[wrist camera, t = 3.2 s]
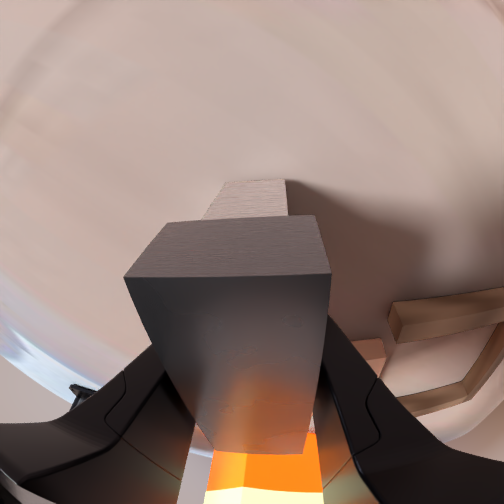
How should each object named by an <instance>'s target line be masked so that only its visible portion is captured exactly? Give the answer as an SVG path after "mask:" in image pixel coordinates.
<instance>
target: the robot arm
mask: <svg viewBox="0 0 504 504" xmlns="http://www.w3.org/2000/svg"><path fill="white" fill-rule="evenodd" d="M377 377H378V375H377V374H376V373H375V371H374V370H373V369H372V368H371V366H370V365H369V364H368V363H367V361H366V360H365V359H364V358H363V356H362V355H361V354H360V353H359V351H358V350H357V349H356V348H355V346H354V345H353V344H352V343H351V341H350V340H349V339H348V338H347V337H346V335H345V334H344V333H343V332H342V330H341V329H340V328H339V327H338V326H337V324H336V323H335V322H334V321H333V319H332V318H331V317H330V316H329V315H327V324H326V332H325V339H324V346H323V353H322V360H321V366H320V372H319V378H318V384H317V390H316V395H315V400H314V405H313V410H312V412H313V419H314V426H315V433H316V441H317V448H318V456H319V465H320V473H321V482H322V489H323V490H322V492H323V502H324V504H504V462H502V461H497V460H492V459H488V458H484V457H480V456H476V455H472V454H469V453H465V452H461V451H458V450H455V449H452V448H450V447H448V446H446V445H445V444H443V443H442V442H441V441H439V440H438V439H437V438H436V437H435V436H434V435H433V434H432V433H431V432H430V431H429V430H427V429H426V428H425V427H424V426H423V425H422V424H421V423H420V422H419V421H418V420H417V419H416V418H415V417H414V416H413V415H412V414H411V413H410V412H409V411H408V410H407V409H406V408H405V407H404V406H403V405H402V404H401V403H400V402H399V400H398V399H397V398H396V397H395V396H394V395H393V394H392V392H391V391H390V390H389V389H388V388H387V386H386V385H385V384H384V383H383V381H382V380H381V379H380V378H379V377H378V378H377ZM69 389H70V390H71V391H72V392H73V393H74V394H75V395H76V398H75V400H74V402H73V404H72V407H71V409H70V411H69V412H67V413H66V414H65V415H63V416H61V417H60V418H57V419H55V420H52V421H48V422H41V423H40V422H39V423H16V424H15V423H13V424H12V423H11V424H10V423H6V424H5V423H4V424H3V423H0V504H176V503H177V499H178V495H179V490H180V485H181V480H182V477H183V473H184V469H185V464H186V460H187V456H188V452H189V448H190V444H191V440H192V435H193V431H194V427H195V423H196V421H195V419H194V418H193V416H192V415H191V413H190V411H189V410H188V408H187V406H186V405H185V403H184V401H183V400H182V398H181V396H180V395H179V393H178V391H177V390H176V388H175V386H174V384H173V382H172V381H171V379H170V377H169V375H168V373H167V372H166V370H165V368H164V366H163V364H162V362H161V360H160V358H159V356H158V354H157V352H156V350H155V348H154V346H153V344H151V345H150V346H149V347H148V348H147V349H146V350H145V351H143V352H142V353H141V354H140V355H139V356H138V357H137V358H136V359H134V360H133V361H132V362H131V363H130V364H129V365H128V366H127V367H125V368H124V371H123V370H122V371H121V372H120V373H119V374H117V375H116V376H115V377H114V378H113V379H112V380H110V381H109V382H108V383H107V384H106V385H104V386H103V387H102V388H101V389H99V390H98V391H97V392H93V391H90V390H87V389H84V388H81V387H78V386H75V385H72V384H71V385H70V387H69Z"/></svg>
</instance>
